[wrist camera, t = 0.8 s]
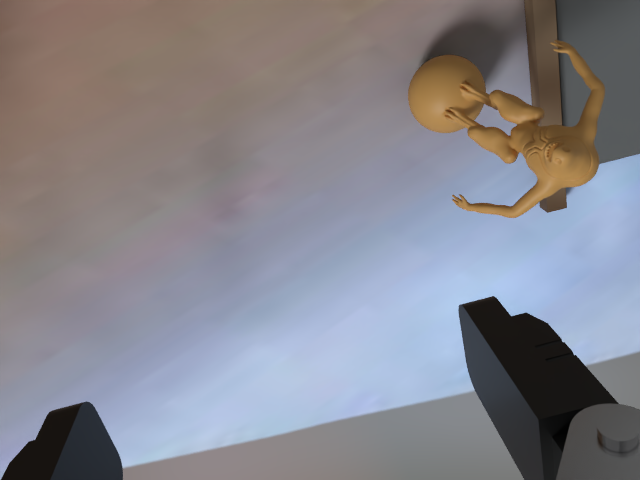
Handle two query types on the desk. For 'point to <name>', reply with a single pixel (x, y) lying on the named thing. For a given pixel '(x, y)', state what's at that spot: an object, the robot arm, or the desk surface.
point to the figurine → (527, 137)
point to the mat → (603, 70)
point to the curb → (545, 74)
